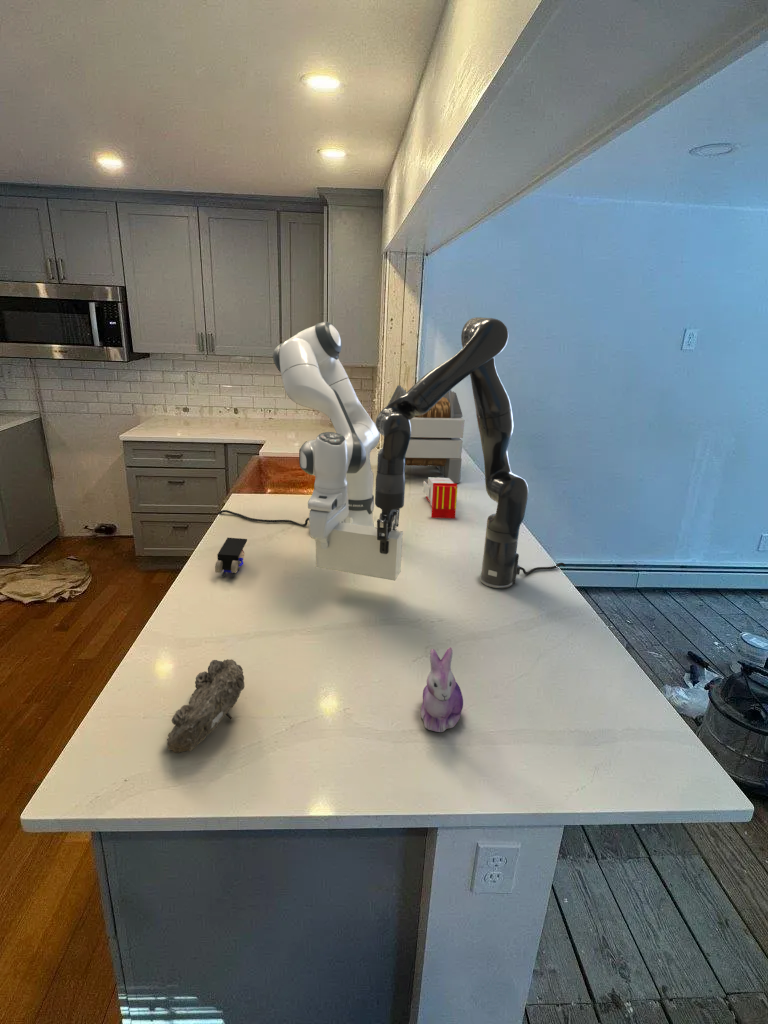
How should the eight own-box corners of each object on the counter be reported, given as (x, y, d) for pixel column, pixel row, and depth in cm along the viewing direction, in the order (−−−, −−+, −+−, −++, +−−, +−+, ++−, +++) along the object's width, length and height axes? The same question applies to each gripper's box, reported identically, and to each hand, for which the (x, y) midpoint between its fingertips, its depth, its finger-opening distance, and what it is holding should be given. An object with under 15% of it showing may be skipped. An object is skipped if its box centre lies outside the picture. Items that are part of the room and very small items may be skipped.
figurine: (434, 741, 104) (440, 672, 99) (407, 708, 113) (411, 643, 108) (476, 726, 108) (484, 660, 103) (446, 695, 117) (452, 632, 112)
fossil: (192, 660, 117) (244, 628, 112) (224, 691, 120) (276, 661, 115) (142, 746, 98) (202, 712, 93) (182, 779, 101) (242, 748, 96)
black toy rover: (238, 584, 162) (249, 557, 175) (236, 562, 158) (247, 536, 172) (215, 584, 161) (227, 556, 175) (212, 561, 158) (225, 535, 171)
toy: (450, 473, 241) (461, 484, 212) (448, 504, 244) (459, 519, 214) (421, 472, 240) (429, 483, 211) (420, 503, 243) (427, 518, 214)
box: (315, 567, 156) (315, 526, 152) (323, 558, 161) (323, 519, 157) (395, 580, 150) (397, 539, 146) (400, 571, 155) (402, 531, 151)
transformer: (382, 463, 289) (386, 382, 275) (445, 464, 293) (451, 384, 279) (390, 482, 257) (394, 392, 243) (460, 483, 261) (468, 394, 247)
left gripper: (333, 482, 161) (332, 528, 165) (304, 504, 142) (304, 555, 147) (354, 485, 159) (353, 531, 164) (328, 508, 141) (327, 558, 145)
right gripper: (397, 498, 138) (393, 561, 144) (410, 482, 151) (407, 540, 157) (367, 494, 140) (365, 557, 145) (383, 479, 153) (381, 537, 158)
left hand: (330, 542), depth 155 cm, fingers open, 6 cm apart
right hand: (387, 548), depth 151 cm, fingers closed on box, 6 cm apart
